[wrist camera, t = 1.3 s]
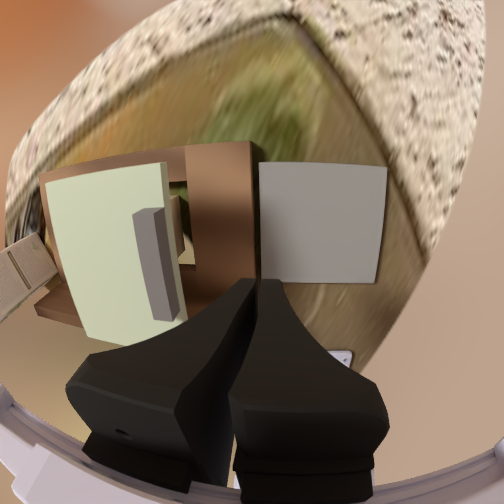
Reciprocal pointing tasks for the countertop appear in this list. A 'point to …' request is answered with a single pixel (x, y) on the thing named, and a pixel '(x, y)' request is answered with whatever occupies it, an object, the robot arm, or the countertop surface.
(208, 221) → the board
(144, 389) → the robot arm
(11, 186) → the countertop surface
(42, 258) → the syrup box
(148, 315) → the cover
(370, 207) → the mat
